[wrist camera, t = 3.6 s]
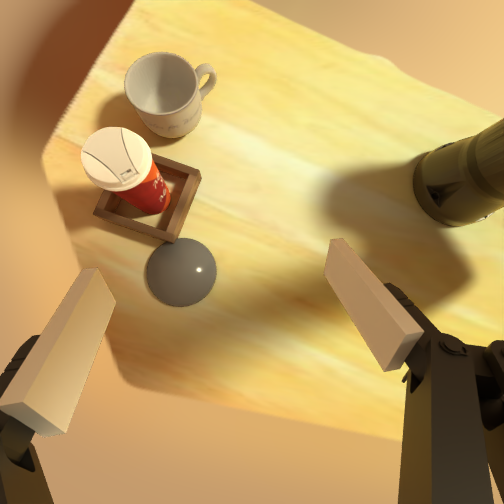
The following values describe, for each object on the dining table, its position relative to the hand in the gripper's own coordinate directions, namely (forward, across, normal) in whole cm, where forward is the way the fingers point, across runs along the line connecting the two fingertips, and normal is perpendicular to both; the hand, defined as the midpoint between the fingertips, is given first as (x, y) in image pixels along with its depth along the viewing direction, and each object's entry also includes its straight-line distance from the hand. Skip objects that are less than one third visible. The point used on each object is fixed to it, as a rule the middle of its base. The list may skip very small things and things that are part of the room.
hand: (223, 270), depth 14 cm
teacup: (+40, -4, +4) cm, 40 cm away
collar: (+29, -10, -7) cm, 32 cm away
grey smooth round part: (+20, -7, -16) cm, 27 cm away
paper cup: (+29, -10, -7) cm, 32 cm away
